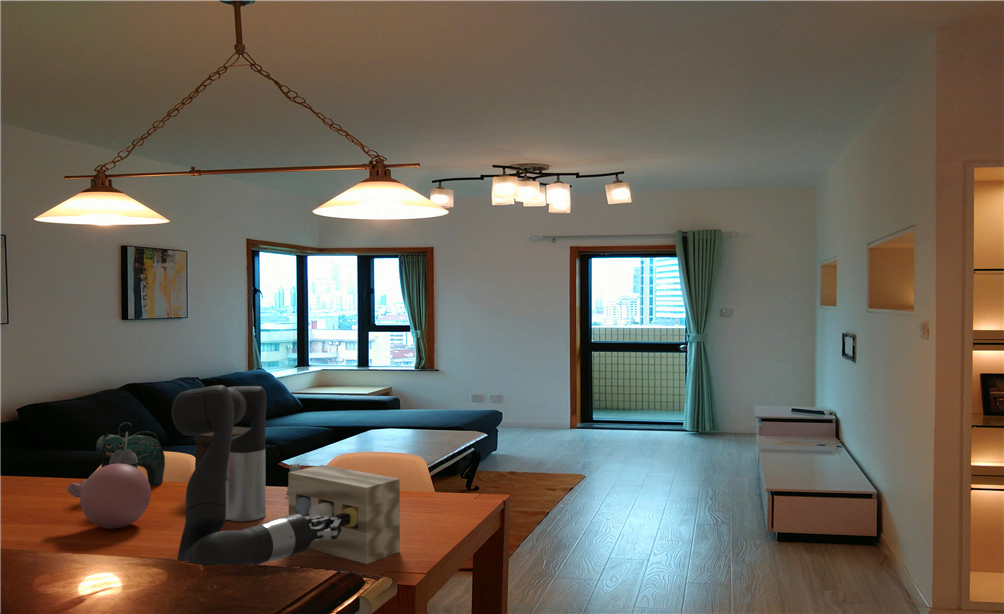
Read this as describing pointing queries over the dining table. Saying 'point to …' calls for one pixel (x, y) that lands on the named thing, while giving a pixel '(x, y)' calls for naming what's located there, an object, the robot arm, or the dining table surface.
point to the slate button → (303, 505)
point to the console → (346, 490)
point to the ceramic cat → (142, 446)
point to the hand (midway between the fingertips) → (347, 518)
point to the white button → (322, 509)
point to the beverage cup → (124, 456)
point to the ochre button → (352, 515)
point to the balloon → (113, 495)
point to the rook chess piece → (293, 468)
